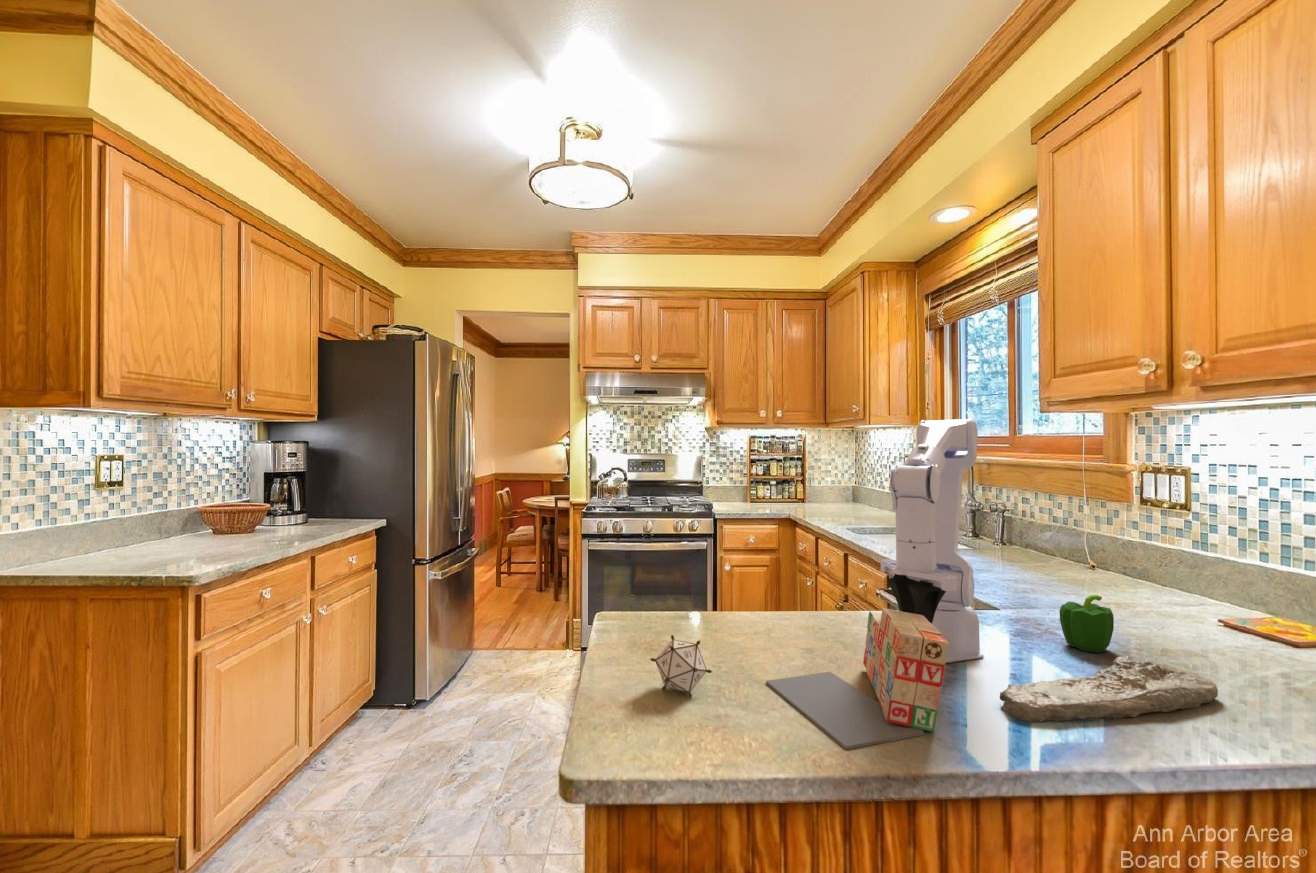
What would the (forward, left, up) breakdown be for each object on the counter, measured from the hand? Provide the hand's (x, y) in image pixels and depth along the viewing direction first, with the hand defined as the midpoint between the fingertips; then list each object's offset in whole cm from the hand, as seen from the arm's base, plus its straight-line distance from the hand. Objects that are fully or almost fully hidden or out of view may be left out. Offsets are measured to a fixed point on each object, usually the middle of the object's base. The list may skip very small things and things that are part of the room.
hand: (916, 625), depth 89 cm
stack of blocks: (+6, +2, -9) cm, 11 cm away
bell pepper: (-43, -4, -10) cm, 44 cm away
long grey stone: (-22, +14, -10) cm, 28 cm away
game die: (+36, -10, -10) cm, 39 cm away
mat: (+16, +2, -10) cm, 19 cm away
